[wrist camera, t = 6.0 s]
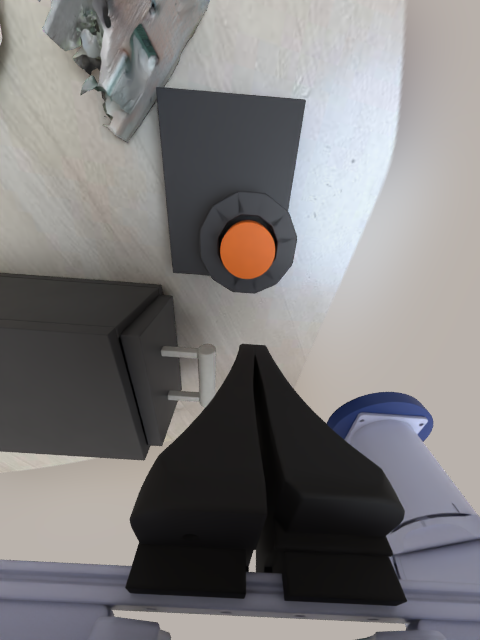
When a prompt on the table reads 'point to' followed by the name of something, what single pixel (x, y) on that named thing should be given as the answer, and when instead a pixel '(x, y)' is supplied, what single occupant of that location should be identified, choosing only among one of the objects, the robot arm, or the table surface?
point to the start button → (247, 249)
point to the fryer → (69, 366)
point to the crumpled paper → (125, 49)
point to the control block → (228, 176)
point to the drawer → (162, 367)
